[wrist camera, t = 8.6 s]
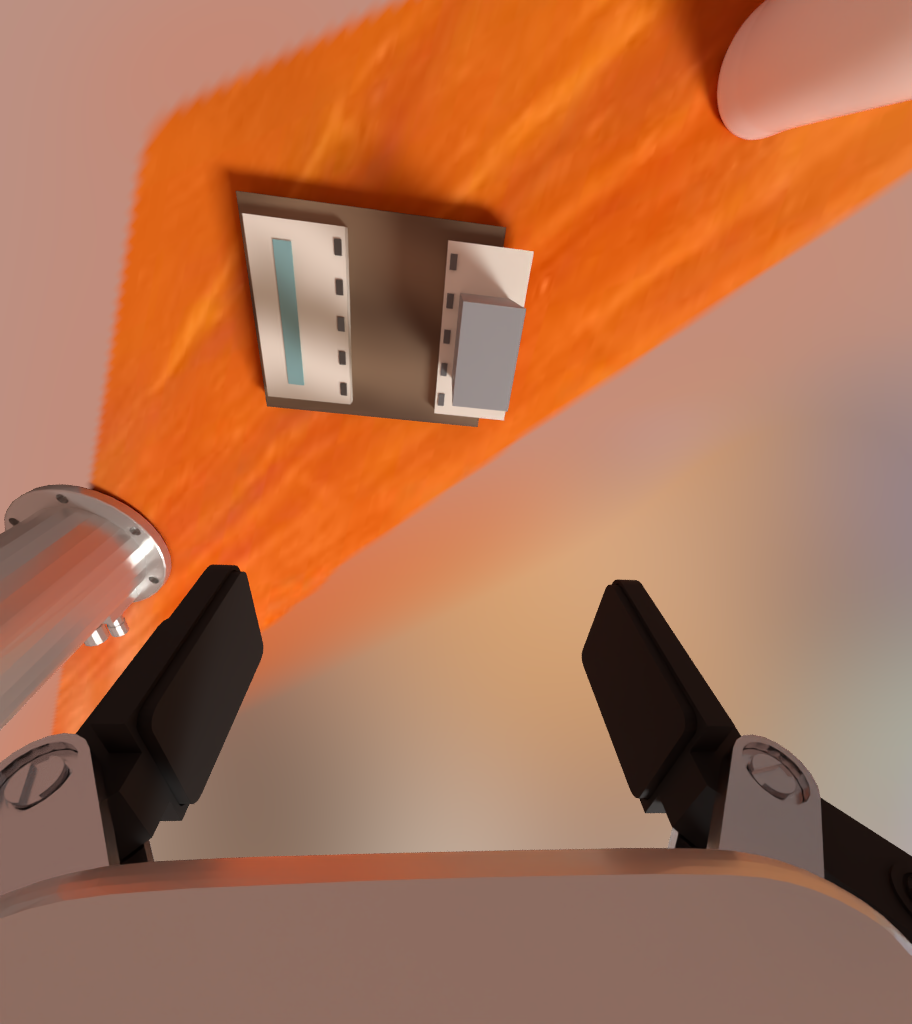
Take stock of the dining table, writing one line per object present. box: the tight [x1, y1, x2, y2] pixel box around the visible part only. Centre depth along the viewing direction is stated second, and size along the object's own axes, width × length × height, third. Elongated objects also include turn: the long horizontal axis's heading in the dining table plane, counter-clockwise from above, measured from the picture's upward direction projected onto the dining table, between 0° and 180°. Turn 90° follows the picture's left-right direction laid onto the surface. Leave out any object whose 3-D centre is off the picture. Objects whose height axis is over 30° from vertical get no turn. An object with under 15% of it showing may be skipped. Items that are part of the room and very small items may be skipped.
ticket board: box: [236, 191, 506, 427], centre depth 26 cm, size 12×15×2 cm
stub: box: [434, 240, 534, 420], centre depth 23 cm, size 10×5×7 cm, turn 174°
